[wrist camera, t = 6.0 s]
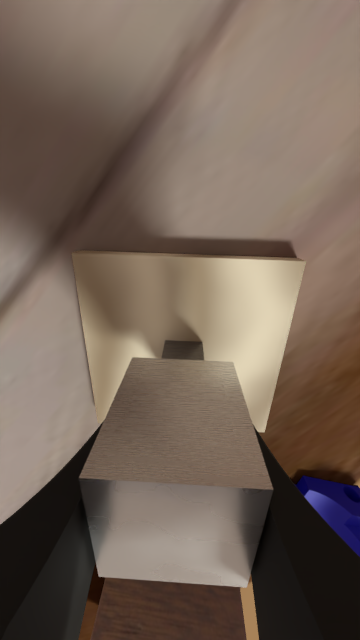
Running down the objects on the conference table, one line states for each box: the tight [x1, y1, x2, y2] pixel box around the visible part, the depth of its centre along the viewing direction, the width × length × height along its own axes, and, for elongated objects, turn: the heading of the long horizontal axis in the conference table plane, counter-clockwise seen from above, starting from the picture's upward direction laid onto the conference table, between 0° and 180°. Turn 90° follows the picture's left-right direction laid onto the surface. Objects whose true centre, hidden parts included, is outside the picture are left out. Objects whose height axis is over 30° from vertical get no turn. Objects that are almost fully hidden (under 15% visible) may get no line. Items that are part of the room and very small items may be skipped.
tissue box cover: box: [91, 577, 246, 640], centre depth 29 cm, size 26×14×10 cm, turn 169°
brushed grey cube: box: [79, 357, 273, 587], centre depth 10 cm, size 5×5×6 cm
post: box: [161, 340, 204, 361], centre depth 15 cm, size 3×3×3 cm
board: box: [71, 250, 306, 432], centre depth 17 cm, size 14×14×1 cm
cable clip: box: [295, 476, 360, 557], centre depth 22 cm, size 12×4×6 cm, turn 76°
